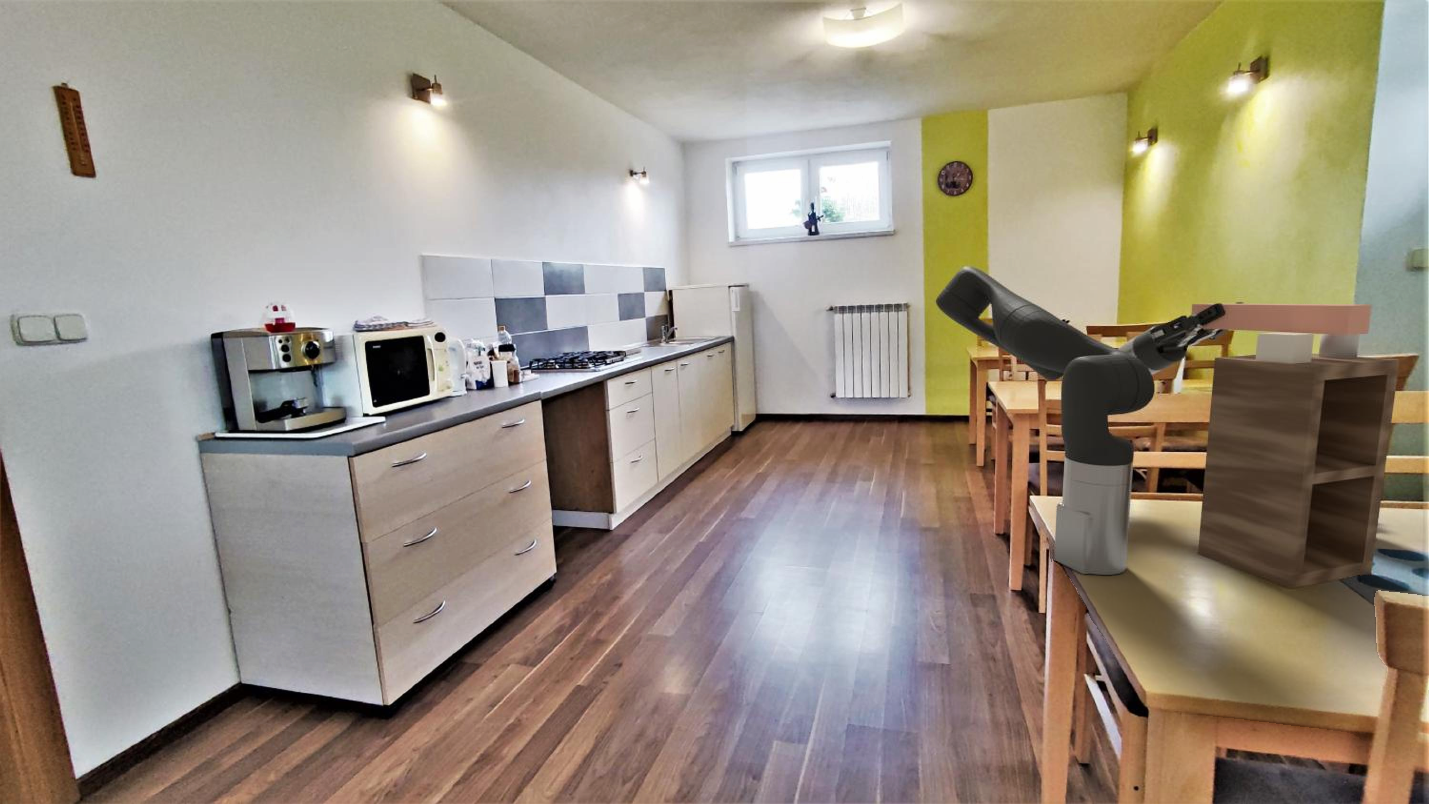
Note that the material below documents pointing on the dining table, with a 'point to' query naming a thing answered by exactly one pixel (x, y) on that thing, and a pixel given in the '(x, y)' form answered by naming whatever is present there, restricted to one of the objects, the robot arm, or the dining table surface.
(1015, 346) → the robot arm
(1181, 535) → the dining table surface
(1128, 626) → the dining table surface
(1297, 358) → the off-white block brick
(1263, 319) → the coral bar brick
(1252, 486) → the walnut shelf
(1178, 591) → the dining table surface
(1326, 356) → the grey-blue round brick
